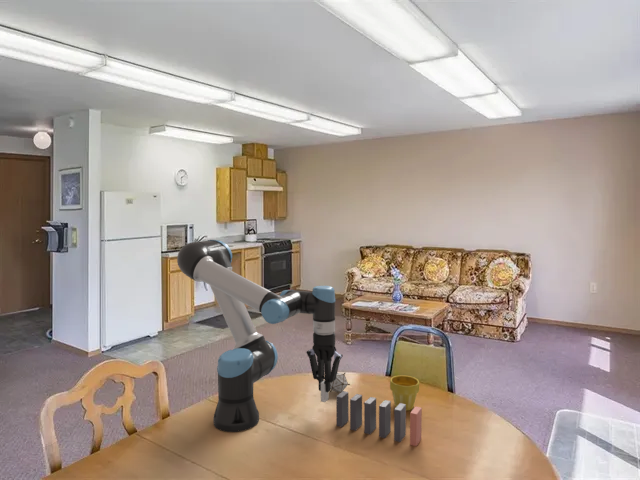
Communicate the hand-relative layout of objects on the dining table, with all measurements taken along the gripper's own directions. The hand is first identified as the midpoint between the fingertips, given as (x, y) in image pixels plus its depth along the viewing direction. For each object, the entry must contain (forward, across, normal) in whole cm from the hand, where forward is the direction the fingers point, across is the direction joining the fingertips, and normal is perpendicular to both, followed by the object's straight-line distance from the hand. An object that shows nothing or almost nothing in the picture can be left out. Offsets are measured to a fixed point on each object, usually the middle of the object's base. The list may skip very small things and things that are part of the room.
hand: (324, 400), depth 155 cm
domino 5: (+7, +27, 0) cm, 28 cm away
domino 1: (+7, +7, 0) cm, 9 cm away
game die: (+7, -6, +22) cm, 24 cm away
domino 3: (+7, +17, 0) cm, 18 cm away
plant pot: (+7, +21, +22) cm, 31 cm away
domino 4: (+7, +22, 0) cm, 23 cm away
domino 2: (+7, +12, 0) cm, 13 cm away
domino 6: (+7, +32, 0) cm, 32 cm away
